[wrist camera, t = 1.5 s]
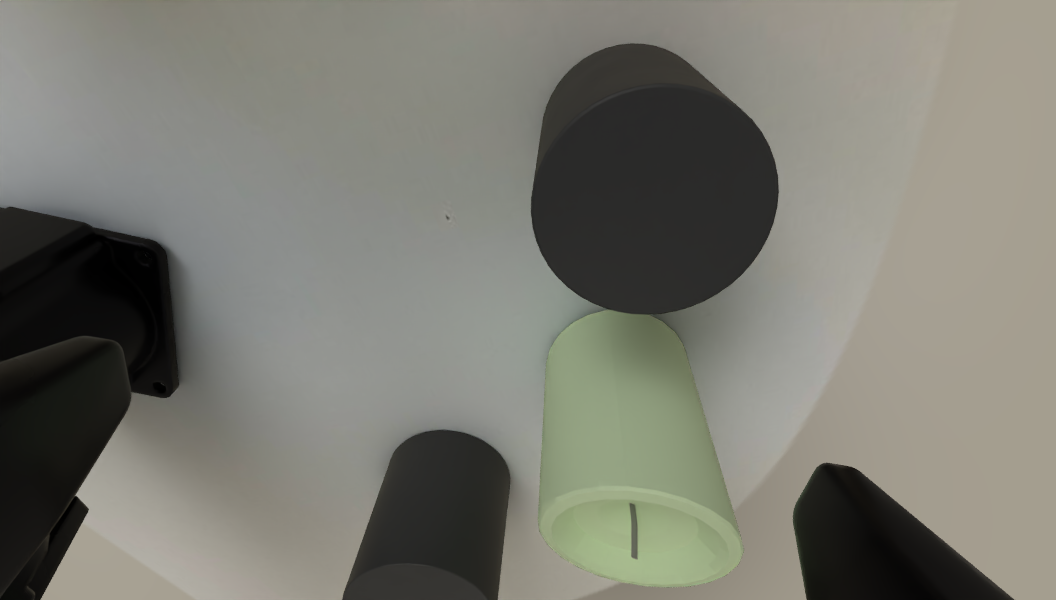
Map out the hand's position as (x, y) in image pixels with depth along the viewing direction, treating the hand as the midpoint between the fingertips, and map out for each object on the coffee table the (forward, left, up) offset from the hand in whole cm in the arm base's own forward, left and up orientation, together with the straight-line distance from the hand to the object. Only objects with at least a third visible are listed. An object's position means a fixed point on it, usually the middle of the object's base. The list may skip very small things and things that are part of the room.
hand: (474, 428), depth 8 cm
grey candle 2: (+1, -3, -12) cm, 12 cm away
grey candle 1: (-14, 0, -12) cm, 18 cm away
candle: (-7, -5, -12) cm, 14 cm away
